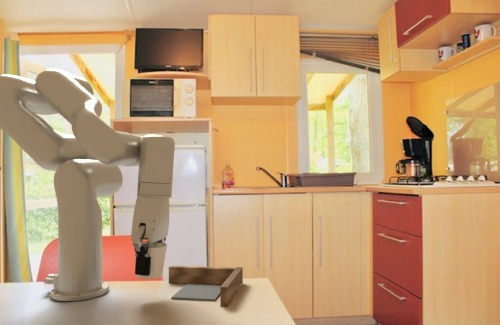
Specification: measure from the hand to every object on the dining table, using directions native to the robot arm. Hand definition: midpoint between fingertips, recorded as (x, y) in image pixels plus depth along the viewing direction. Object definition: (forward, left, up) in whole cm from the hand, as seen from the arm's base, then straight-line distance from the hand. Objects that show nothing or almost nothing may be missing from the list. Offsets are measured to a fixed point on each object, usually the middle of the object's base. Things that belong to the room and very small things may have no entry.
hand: (149, 269), depth 83 cm
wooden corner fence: (+9, +6, -6) cm, 12 cm away
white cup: (0, 0, -1) cm, 1 cm away
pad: (+10, +6, -6) cm, 13 cm away
